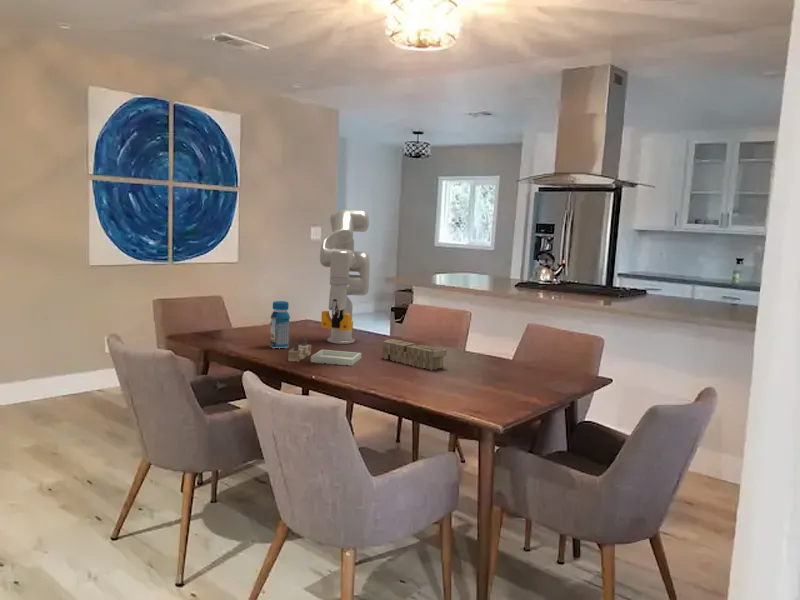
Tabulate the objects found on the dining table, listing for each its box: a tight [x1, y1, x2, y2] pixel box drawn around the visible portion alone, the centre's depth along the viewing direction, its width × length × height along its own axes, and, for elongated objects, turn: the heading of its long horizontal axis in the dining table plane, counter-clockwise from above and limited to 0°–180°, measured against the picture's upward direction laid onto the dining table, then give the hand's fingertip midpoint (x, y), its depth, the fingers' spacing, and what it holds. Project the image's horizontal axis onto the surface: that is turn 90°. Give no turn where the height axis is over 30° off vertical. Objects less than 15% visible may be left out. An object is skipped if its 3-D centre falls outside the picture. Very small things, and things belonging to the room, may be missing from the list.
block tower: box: [382, 338, 447, 371], centre depth 259 cm, size 8×8×29 cm
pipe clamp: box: [320, 310, 354, 331], centre depth 256 cm, size 12×4×6 cm, turn 68°
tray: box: [310, 349, 362, 367], centre depth 257 cm, size 14×17×2 cm
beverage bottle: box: [269, 300, 291, 350], centre depth 277 cm, size 8×8×20 cm
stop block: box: [287, 337, 312, 362], centre depth 260 cm, size 16×4×7 cm, turn 169°
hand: (337, 326), depth 256 cm, fingers closed on pipe clamp, 4 cm apart
